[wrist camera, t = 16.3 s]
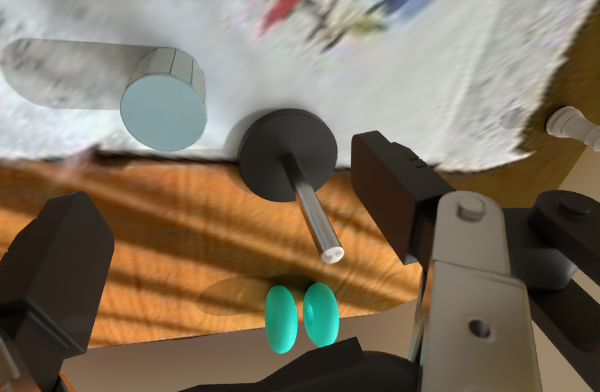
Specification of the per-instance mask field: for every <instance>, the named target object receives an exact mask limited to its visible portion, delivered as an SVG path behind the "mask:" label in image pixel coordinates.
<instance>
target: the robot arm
mask: <svg viewBox="0 0 600 392" xmlns="http://www.w3.org/2000/svg"><path fill="white" fill-rule="evenodd" d="M351 182H352V186H353V189H354V191H355V193H356V195H357V196H358V198H359V199H360V201H361V202H362V204H363V205H364V207H365V208H366V210H367V211H368V213H369V214H370V216H371V217H372V219H373V220H374V222H375V223H376V225H377V226H378V228H379V229H380V231H381V232H382V233H383V235H384V236H385V238H386V239H387V241H388V242H389V244H390V245H391V247H392V248H393V250H394V251H395V253H396V254H397V256H398V257H399V259H400V260H401V262H402V263H403V265H407V264H411V263H414V262H419V263H420V265H421V266H422V272H421V277H420V284H419V291H418V299H417V306H416V313H415V320H414V327H413V333H412V339H411V343H410V348H409V354H408V359H405V358H402V357H399V356H397V355H393V354H389V353H385V352H379V351H362V349H361V346H360V344H359V342H358V339H357V337H353V338H349V339H347V340H343V341H340V342H337V343H334V344H330V345H327V346H324V347H320V348H317V349H314V350H311V351H308V352H306V353H305V354H303V355H301V356H300V357H298V358H297V359H295V360H293V361H292V362H290V363H289V364H287V365H285V366H284V367H282V368H281V369H279V370H278V371H276V372H274V373H273V374H271V375H270V376H268V377H266V378H265V379H263V380H261V381H259V382H256V383H239V384H208V385H198V386H195V387H191V388H188V389H185V390H182V391H179V392H543V391H542V385H541V378H540V372H539V365H538V359H537V352H536V345H535V340H534V333H533V326H532V320H533V321H534V322H535V323H536V324H537V326H538V327H539V328H540V329H541V330H542V331H543V333H544V334H545V335H546V336H547V337H548V339H549V340H550V341H551V342H552V343H553V344H554V346H555V347H556V348H557V349H558V350H559V352H560V353H561V354H562V355H563V356H564V357H565V359H566V360H567V361H568V362H569V363H570V364H571V366H572V367H573V368H574V369H575V370H576V371H577V373H578V374H579V375H580V376H581V377H582V379H583V380H584V381H585V382H586V383H587V384H588V386H589V387H590V388H591V389H592V390H593V391H594V392H600V304H599V303H597V302H596V301H595V300H594V299H593V298H592V297H591V296H590V295H589V294H588V293H587V292H586V291H584V290H583V289H582V288H581V287H580V286H579V285H578V284H577V283H576V282H575V281H574V280H573V279H572V277H573V275H574V274H575V273H576V271H577V270H578V269H580V270H581V271H583V272H584V273H585V274H586V275H587V276H588V277H589V278H590V279H592V280H593V281H594V282H595V283H596V284H597V285H599V286H600V203H599V202H597V201H595V200H594V199H592V198H590V197H587V196H585V195H582V194H579V193H576V192H571V191H565V190H550V191H545V192H543V193H541V194H540V195H539V196H538V197H537V199H536V201H535V203H534V205H533V207H532V208H501V207H500V206H499V205H498V204H497V203H496V202H495V201H493V200H492V199H490V198H488V197H486V196H484V195H481V194H478V193H474V192H469V191H456V190H455V189H454V188H453V187H452V186H450V185H449V184H448V183H447V182H446V181H445V180H444V179H443V178H442V177H440V176H439V175H438V174H437V173H436V172H435V171H434V170H433V169H432V168H430V167H429V166H428V167H427V164H426V163H425V162H424V161H423V160H422V159H419V157H418V156H417V155H416V154H415V153H414V152H413V151H412V150H411V149H409V148H407V147H405V146H403V145H401V144H398V143H396V142H392V143H390V142H389V141H388V140H387V139H386V138H385V137H384V136H383V135H382V134H381V133H380V132H379V131H377V130H375V131H370V132H366V133H361V134H356V135H354V136H353V137H352V142H351ZM113 252H114V238H113V234H112V232H111V230H110V228H109V227H108V225H107V224H106V222H105V220H104V219H103V217H102V216H101V214H100V213H99V211H98V210H97V208H96V206H95V205H94V203H93V202H92V200H91V199H90V197H89V196H88V195H87V194H86V193H85V192H83V191H78V192H73V193H68V194H64V195H59V196H54V197H51V198H49V199H48V201H47V202H46V204H45V205H44V207H43V209H42V210H41V212H40V214H39V215H38V217H37V219H34V220H33V221H31V222H30V223H29V224H28V225H27V226H26V227H25V228H24V229H22V230H21V231H20V232H19V233H18V234H17V235H16V237H15V239H14V240H13V242H12V243H11V245H10V246H9V248H8V252H6V253H5V254H4V256H3V257H2V259H1V261H0V392H76V391H75V390H74V388H73V386H72V385H71V383H70V382H69V380H68V379H67V377H66V376H65V375H64V374H63V373H62V372H61V371H60V369H61V366H62V363H63V360H64V359H67V358H71V357H74V356H78V355H81V354H85V353H86V351H87V347H88V343H89V340H90V336H91V333H92V329H93V325H94V322H95V318H96V314H97V311H98V307H99V303H100V300H101V296H102V292H103V289H104V285H105V281H106V278H107V274H108V271H109V267H110V263H111V260H112V256H113ZM531 319H532V320H531Z"/></svg>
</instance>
